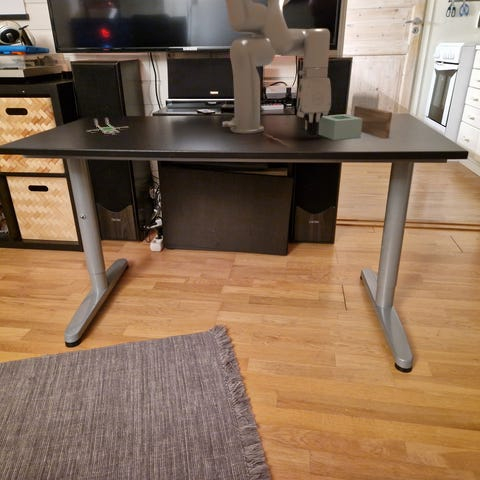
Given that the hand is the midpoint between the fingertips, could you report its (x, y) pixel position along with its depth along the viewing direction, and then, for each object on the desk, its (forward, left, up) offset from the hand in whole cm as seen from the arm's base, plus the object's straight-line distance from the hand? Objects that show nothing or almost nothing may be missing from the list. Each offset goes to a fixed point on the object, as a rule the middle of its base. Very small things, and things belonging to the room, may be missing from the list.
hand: (311, 134), depth 132 cm
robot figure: (-63, +53, -3) cm, 82 cm away
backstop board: (+13, 0, -3) cm, 14 cm away
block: (+10, 0, -1) cm, 10 cm away
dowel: (+7, +15, -3) cm, 17 cm away
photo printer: (+35, +23, -3) cm, 42 cm away
